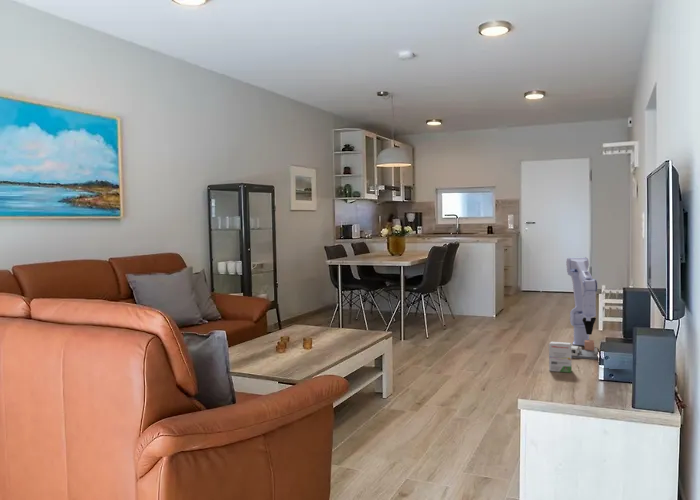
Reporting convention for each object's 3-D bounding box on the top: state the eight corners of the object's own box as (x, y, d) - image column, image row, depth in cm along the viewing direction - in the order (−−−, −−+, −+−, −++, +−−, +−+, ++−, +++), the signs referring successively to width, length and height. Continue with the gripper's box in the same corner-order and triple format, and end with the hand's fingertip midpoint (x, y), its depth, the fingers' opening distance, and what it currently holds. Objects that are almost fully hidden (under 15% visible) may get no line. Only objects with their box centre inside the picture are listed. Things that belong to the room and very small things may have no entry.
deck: (566, 350, 279) (566, 342, 278) (598, 352, 273) (598, 344, 272) (563, 357, 266) (563, 348, 266) (597, 359, 260) (597, 350, 260)
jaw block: (585, 350, 279) (585, 339, 279) (594, 350, 277) (594, 340, 277) (584, 351, 276) (584, 341, 275) (593, 352, 274) (593, 342, 274)
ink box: (571, 370, 244) (571, 342, 243) (570, 373, 239) (570, 344, 239) (550, 368, 247) (550, 340, 247) (549, 371, 243) (548, 343, 242)
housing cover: (566, 351, 272) (566, 345, 272) (578, 352, 270) (578, 345, 270) (565, 354, 267) (565, 347, 267) (577, 355, 265) (577, 348, 265)
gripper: (581, 302, 283) (581, 330, 284) (578, 307, 270) (579, 336, 271) (596, 303, 280) (597, 331, 281) (595, 307, 267) (595, 336, 268)
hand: (589, 333), depth 276 cm, fingers open, 3 cm apart
